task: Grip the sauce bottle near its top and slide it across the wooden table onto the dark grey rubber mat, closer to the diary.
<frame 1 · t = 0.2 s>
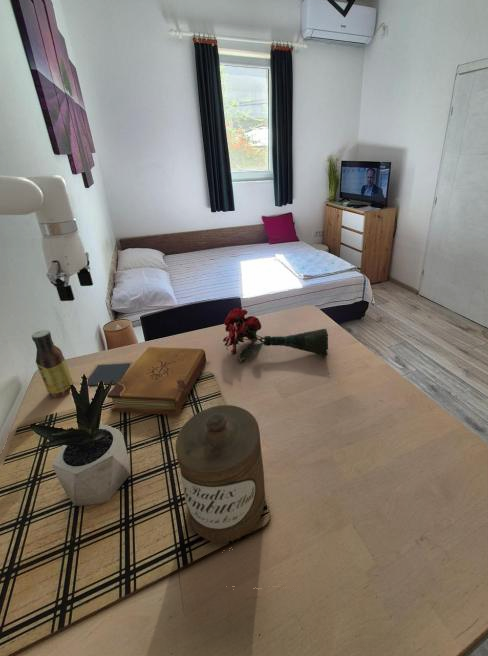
hand: (77, 292, 86), 30 cm above the table, tool pointing down, fingers open, 9 cm apart
sauce bottle: (61, 391, 95), on the table
wooden container: (227, 502, 64), on the table
carnation: (275, 350, 113), on the table
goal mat: (108, 374, 102), on the table
diary: (164, 385, 97), on the table
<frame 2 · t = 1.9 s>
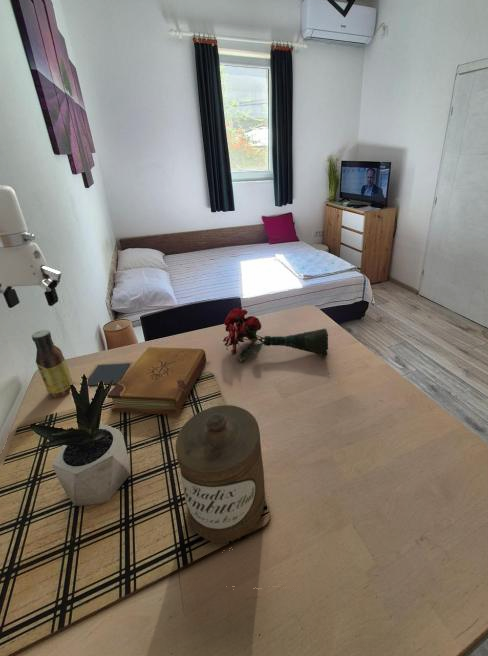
hand: (34, 304, 84), 28 cm above the table, tool pointing down, fingers open, 9 cm apart
nothing on the table moved.
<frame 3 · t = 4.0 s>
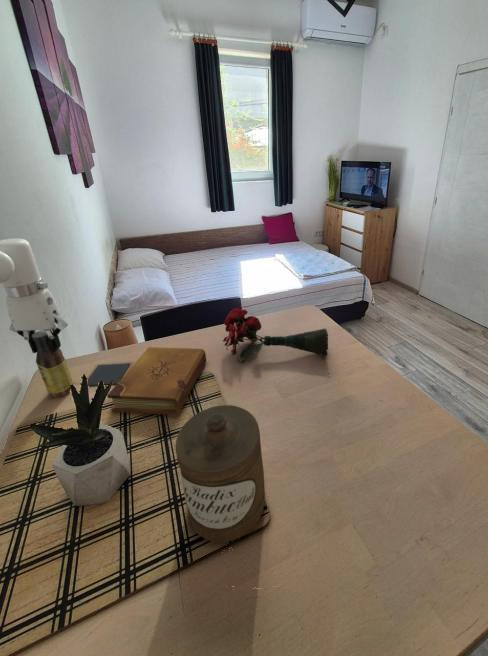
hand: (47, 349, 89), 15 cm above the table, tool pointing down, fingers closed on sauce bottle, 4 cm apart
sauce bottle: (62, 391, 95), on the table, touching gripper
everything else where it was.
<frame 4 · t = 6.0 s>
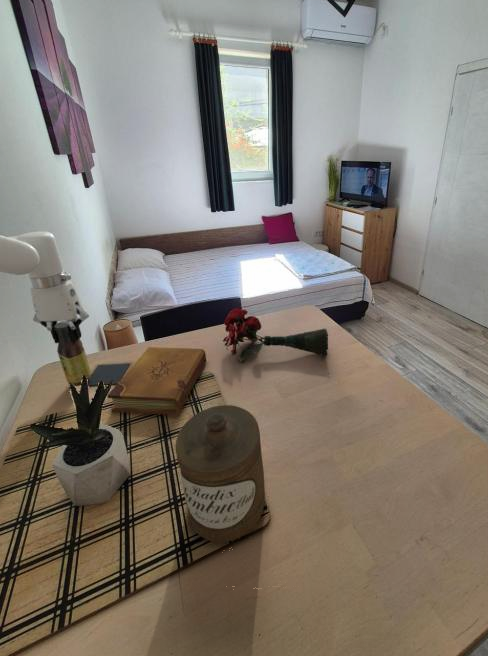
hand: (68, 339, 91), 16 cm above the table, tool pointing down, fingers closed on sauce bottle, 4 cm apart
sauce bottle: (80, 381, 97), point 1 cm above the table, touching gripper
everything else where it was.
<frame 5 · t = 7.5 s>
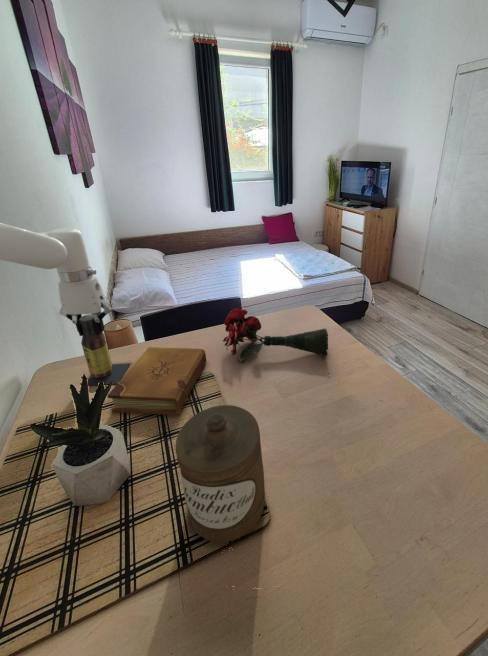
hand: (92, 332, 95), 16 cm above the table, tool pointing down, fingers closed on sauce bottle, 4 cm apart
sauce bottle: (102, 373, 101), point 1 cm above the table, touching gripper
everything else where it was.
when the fingers open (15 cm above the table, at t = 8.3 s): sauce bottle stays where it is, resting on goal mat.
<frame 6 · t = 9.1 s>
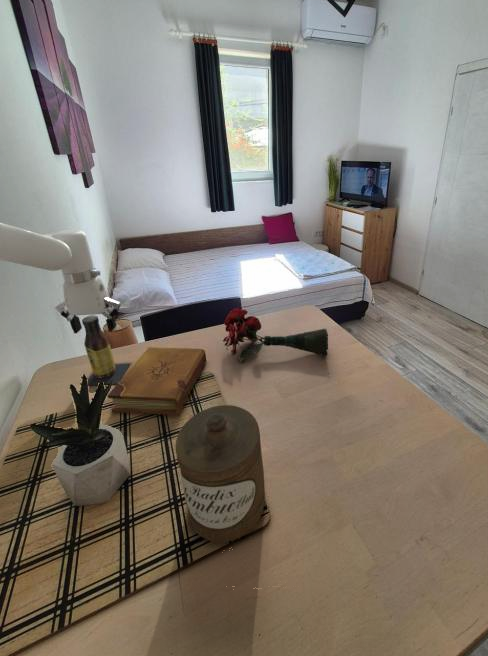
hand: (95, 330, 95), 16 cm above the table, tool pointing down, fingers open, 9 cm apart
sauce bottle: (105, 374, 102), resting on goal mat
everything else where it was.
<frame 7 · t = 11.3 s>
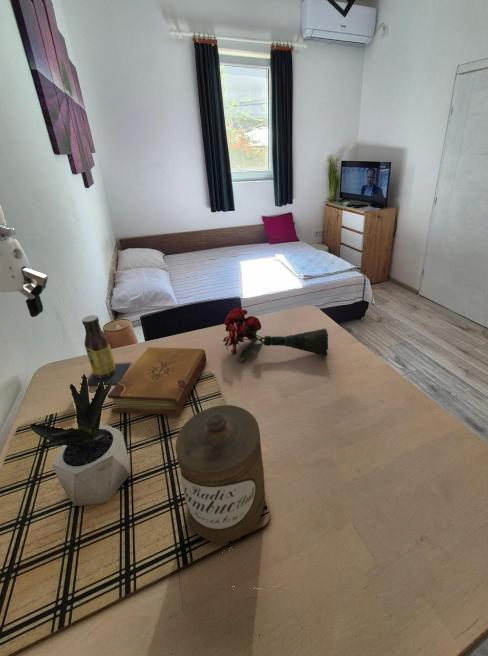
hand: (12, 315, 68), 33 cm above the table, tool pointing down, fingers open, 9 cm apart
nothing on the table moved.
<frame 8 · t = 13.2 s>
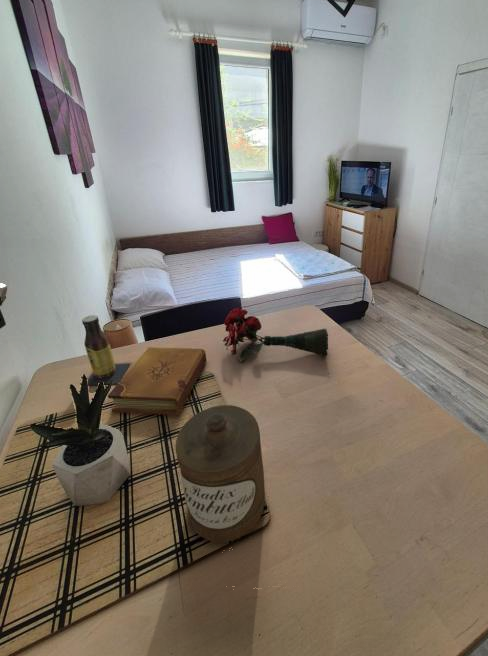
nothing on the table moved.
at the end: sauce bottle inside the target area (0.7 cm from its centre), resting on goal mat; sauce bottle 21.2 cm from the diary (horizontally); sauce bottle tilted 0° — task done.
